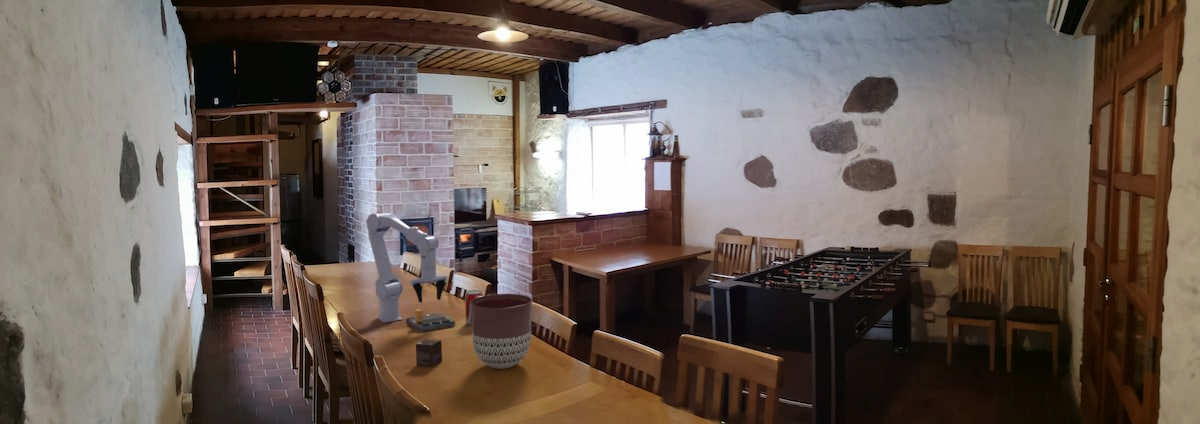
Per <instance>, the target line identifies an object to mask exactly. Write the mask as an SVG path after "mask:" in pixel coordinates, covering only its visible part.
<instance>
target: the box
mask: <svg viewBox="0 0 1200 424" xmlns="http://www.w3.org/2000/svg"><path fill="white" fill-rule="evenodd" d="M415 354H416V356H415V358H416V366H419V367H422V366H423V367H430V368H433V367H436V366H437V365H438V364H440V363H442V362H443V348H442V339H433V338H425V339H422V340H420V341H419V342H417V343H415Z"/></svg>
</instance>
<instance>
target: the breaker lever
mask: <svg viewBox="0 0 1200 424" xmlns="http://www.w3.org/2000/svg"><path fill="white" fill-rule="evenodd" d="M414 316H415V321H416V322H423V316H424V315H423V310H422V309H421V308H418V309H414Z"/></svg>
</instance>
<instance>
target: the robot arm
mask: <svg viewBox="0 0 1200 424" xmlns="http://www.w3.org/2000/svg"><path fill="white" fill-rule="evenodd" d="M365 223H366V228H367V230H368V232H367V233H368V239H369V240H368V241H369V242H370V248H371V250H372V255H373V259H374V262H375V265H376V270H377V274H378V278H377V280H375V283H374V284H375V294H376V296H377V298H378V300H379V301H378V307H379V308H378V310H379V312H378V313H379V316H376V318H377V319H378V320H379V321H380V322H382V323H389V322H397V321H402V320H403V317H401V316H400V297H401V294H402V293H403V290H404V287H403V284H402V282H401V281H400V279H399V276H398V275H397V274H395V273H394V272H393V268H392V265H391V261H390V257H389V253H388V249H387V246H386V241H385V238H384V236H385V234H386V233H387V232H388V231H389V230H390V229H391V228H392V229H393V230H395V231H397V232H398V233H401V234H403V235H404V236H405V239H406V240H407V241H408V242H410V243H412V244H413V245H415V246H416V248H417V249H418V251H419V256H420V274H421V277H418V278H412V279H409V285H410V286H412V287H413V289H414V291H415V293H416V297H417V299H418V300H417V301H418V302H419V303H420V304H421V303H422V304H423V286H422V284H429V283H431V284H432V283H435V287H436V300H437V301H441V298H442V294H443V291H444V288H445V287H446V284H447V283H446V282H447V281H449V279H448V276H447V275H437V256H436V255H437V249H438V247H439V239H438V238H437V237H436V236H435V235H432V234H431V235H428V233H426V232H423V231H422V230H420V228H419V227H418V226H412V227H410V226H409V225H407V224H406V223H404V222H403V221H402V220H401V219H399V218H398V217H397V215H396V214H395V213H393V212H392V211H386V212H379V213H371V214H369V215H368V217H367V218H366V221H365Z"/></svg>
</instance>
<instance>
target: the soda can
mask: <svg viewBox="0 0 1200 424" xmlns="http://www.w3.org/2000/svg"><path fill="white" fill-rule="evenodd" d="M465 293H466V294H465V296H464V297H465V299H464V301H465V304H464V305H465V323H466V324H467V325H468V326H472V324H471V312H470V301H471V300H473V299H475V298H477V297H481V296H484V294H483V291H482V290H479V289H478V290H477V289H472V290H468V291H466V292H465Z"/></svg>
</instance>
